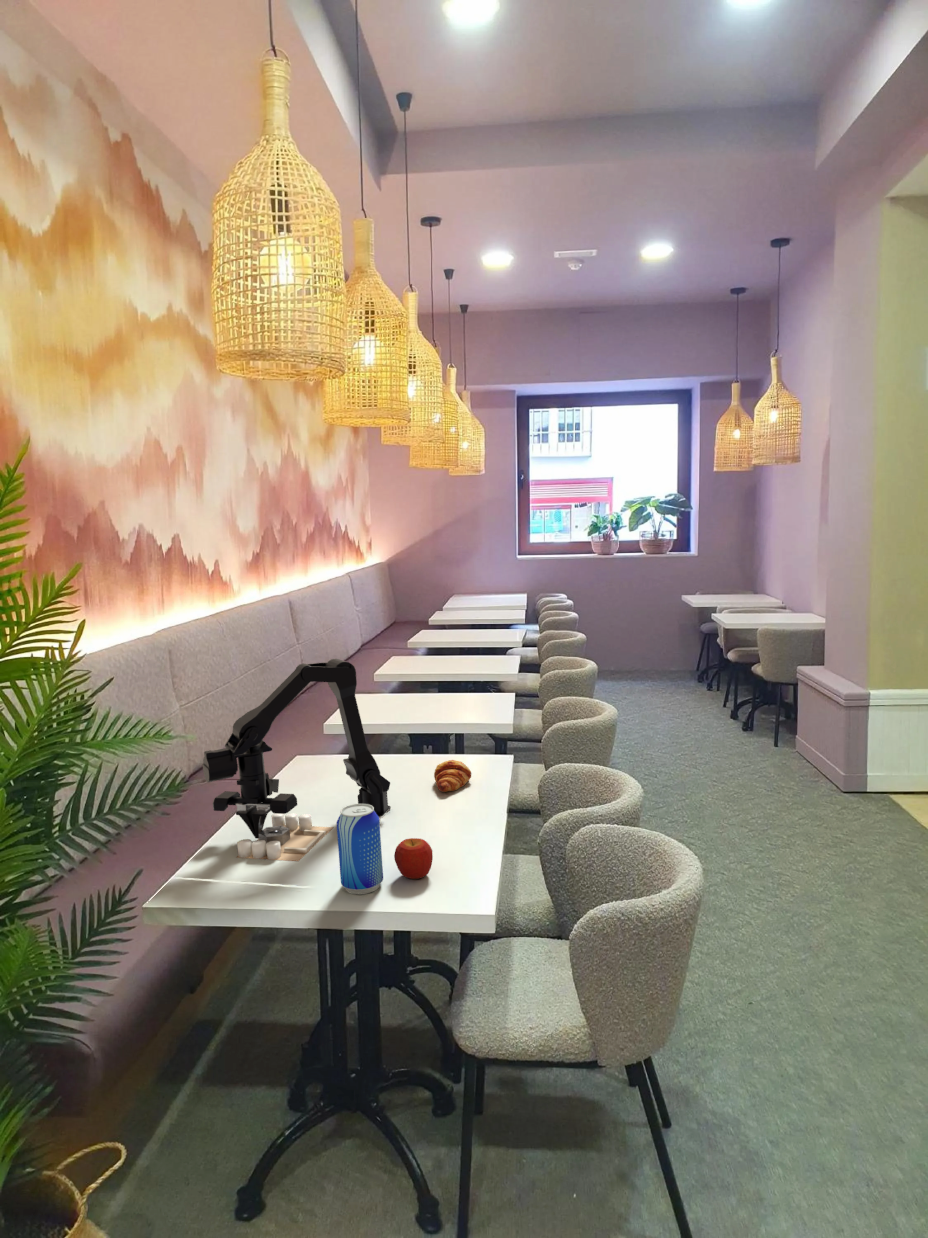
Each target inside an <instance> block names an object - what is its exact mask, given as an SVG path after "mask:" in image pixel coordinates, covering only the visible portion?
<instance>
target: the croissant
mask: <svg viewBox="0 0 928 1238" xmlns="http://www.w3.org/2000/svg"><path fill="white" fill-rule="evenodd" d="M433 778H434V780H435V784H436V786H437V789H438V790H439V791H440V792H442V793H445V792H454V791H457V790H458V789H460V788H462V787H464V786H465V785H466V783H467V782H469V781H470V780H471V778H472V771H471V770H470V768H469V766H467V765H466V764H464V763H463V761H460V760H455V759H450V760H445V761H443V762H441V763H438V764H437V765H436V767H435V769H434V772H433Z"/></svg>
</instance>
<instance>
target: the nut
mask: <svg viewBox="0 0 928 1238" xmlns="http://www.w3.org/2000/svg"><path fill="white" fill-rule="evenodd" d="M259 840H265V841H266V844H267V843H268V842H270V841H279V842H280V845H284V844H285V843H286V842H287V841H288V840H290V829H289V828H286V827H284V826H282V825H280V826H273V827H272V826H268V827H267V826H266V827H265V828H263V830H262V831H261V832H260V833H259Z"/></svg>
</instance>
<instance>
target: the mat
mask: <svg viewBox="0 0 928 1238" xmlns="http://www.w3.org/2000/svg"><path fill="white" fill-rule="evenodd" d="M285 827H286V824H285ZM333 829H334V827H332V826H316V825H314V826H313V825H312V829H310V830H304V831H301V830H299V828H297V829H295V830H290V840H288V841H287V842H286V843H285V844H284V845H280V847H281V857H280V858H278V859H272V861H287V862H300V860H302V859H303V858H304V857H305V856H306V855H307V854H308V853H309V852H310V851H312V849H313V848H314V847H315V846H317V844H318V843H319V842H321V841H322V840H323V838H325V837H326V835H327V834H329V832H331V831H333ZM257 840H259V839H256V840H255V841H257ZM266 852H267V849H266ZM235 858H237V859H239V858H240V859H242V858H241V857H239V856H238V855H237V856H236V857H235ZM244 859H251V860H252V859H253V860H254V859H255V860H257V859H256V858H253V854H252V855H251V856H249V857H245V858H244ZM258 860H267V861H268V860H269V861H271V859H268V858H267V855H266V856H265V857H263V858H259V859H258Z"/></svg>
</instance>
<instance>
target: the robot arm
mask: <svg viewBox="0 0 928 1238" xmlns="http://www.w3.org/2000/svg"><path fill="white" fill-rule="evenodd" d="M313 682H314V683H315V682H318V683H326V684H328V687H329V688H330V690H331V691H332V693H333V695H334V696H335V699H336V703H337V707H338V711H339V714H340V718H341V722H342V727H343V731H344V734H345V739H346V742H347V745H348V746H347V747H348V758H344V759H343V760H342V761H343V763H344V767H345V774H346V775H347V776H349V778H350V779H351V780H353V782H355V783H356V786H357V787H360V788H359V789H358V794H357V804H369V805H372V806H373V807H374V811H375V813H376V814H377V815H378V817H382V816H384V815H385V814H386V813H387V812H388V811H390V809H391V806H390V805H389V803H388V801H389V799H388V792H389V791H390V785H391V782H390V781H389V780H387V778H385V777H384V776H383V775H381V770H380V768H379V766H378V764H377V761H376V760H375V757H374V756H373V755H372V753H371V751H370V750H369V747H368V743H367V740H366V735H365V731H364V727H363V723H362V718H361V714H360V709H359V706H358V703H357V698H356V690H357V685H358V683H357V682H358V681H357V671H356V668H355V666H354V665H353V664H352V663H350V662H349V661H346V660H343V659H341V658H340V659H339V658H332V659H330V660H329V661H327V662H314V663H299V664H298V665H297V666H296V668H295V669H294V670H293V671H292V672H291V673H290V674H289V676H288V677H286V679H284V681H282V682H281V684H279V686H278V687H277V688H276V689H275V690H274V691H273V692H272V693H271V694H270V695H269V696H268V697H267V698H266V699H265V700H264V701H263V702H262V703H261V704H260V705H258V706H257V707H255V708H253V709H251V710H249V711H247V712H246V713H244V714H243V715H241V716H240V717H239V718H238V719H236V720H235V722H234V723H233V725H232V733H231V734H230V735H229V738H228V739H227V741H226V743H225V744H224V748H221V749H220V748H219V749H216V750H206V751H204V752H203V756H204V757H203V758H202V759H203V761H202V765H201V766H202V772H203V776H204V779H205V782H207V783H210V782H217V781H222V780H226V779H232V778H234V776H235V775H237V772H238V776H239V779H237V780H236V786H239V787H240V792H239V791H224V792H222V793H220V794H219V795H217V796H216V797H214V798H213V800H212V809H213V811H215V812H225V811H226V810H228V808H229V806H236V812H235V815H236V816H239V817H240V818H241V820H242V821H243V822H244V824H246V826H247V828H248V829H249V831H250V832H251V833H252V835H253V837H254V838H255V839H256V840H258V839H259V833H260V832H261V831H262V830H263V829H264V825H265V823H266V819H267V817H268V815H269V813H270V812H272V813H273V814H275V813H276V814H284V815H285V814H289V813H290V812H291V811H292V810H293V809H294V808H295V807H297V806H298V798H297V796H296V795H295V794H294V793H279V787H280V786H279V785H280V779H279V778H270V774H269V773H268V772H266V771H265V770H266V769H265V758H264V756H265V755H264V753H268V752H271V751H273V747H271V746H270V745H268V744H267V742H266V741H265V740H264V739H265V737H266V736H267V734H268V733H269V731H270V730H271V727H272V725H273V723H274V721H275V719H276V718H277V717H278V716H279V715H280V714H281V713H282V712H283V711H284V710H285V709H286V708H287V707H288V705H289V704H291V703H292V702H293V700H295V698H297V697H298V695H299V694H300V693H301V692H302V691H304V689H305V688H306V687H307V686H308V685H309V684H310V683H313ZM273 793H277V795H276V796H275V797H270V796H272V795H273ZM278 793H279V794H278ZM268 796H269V797H268Z"/></svg>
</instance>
